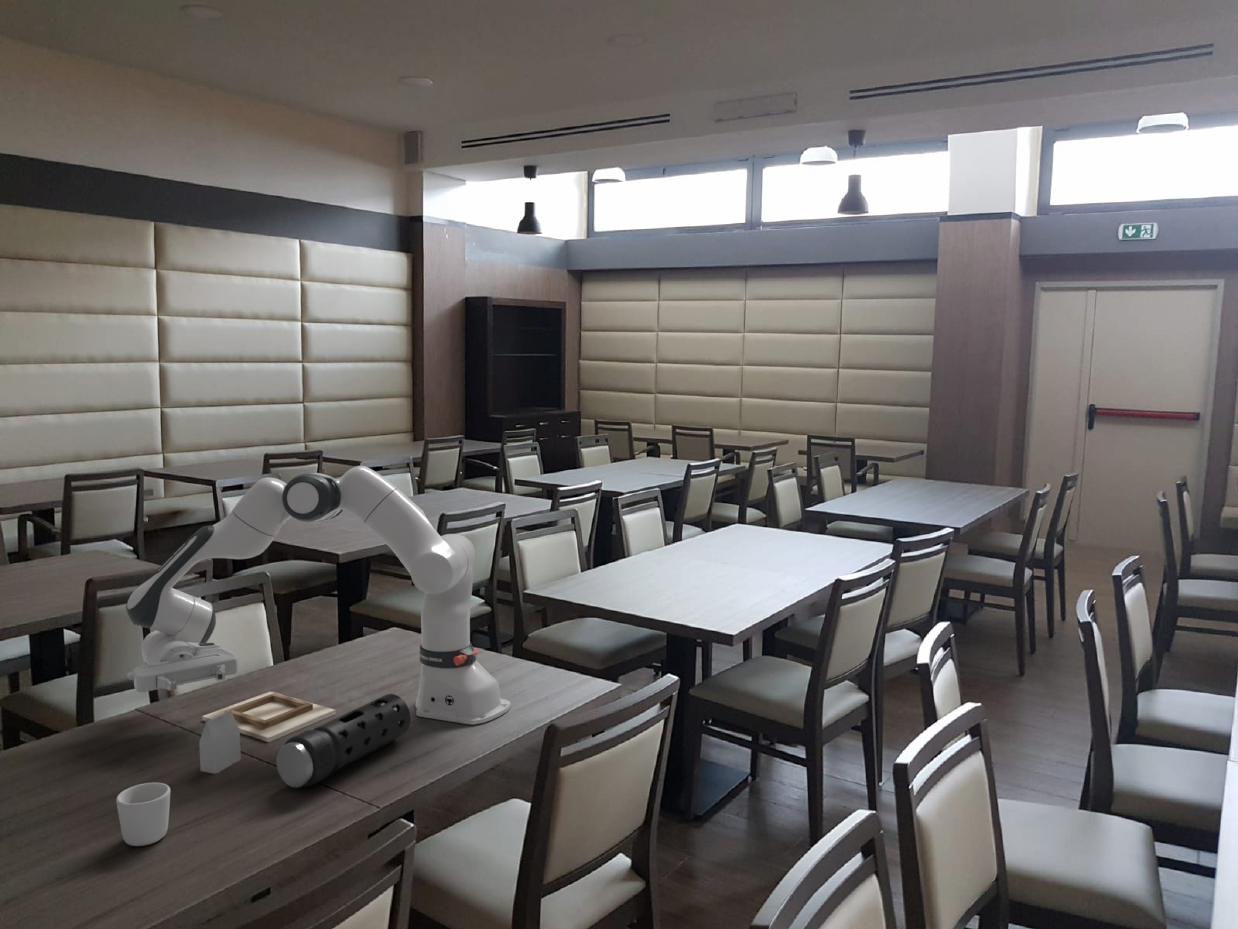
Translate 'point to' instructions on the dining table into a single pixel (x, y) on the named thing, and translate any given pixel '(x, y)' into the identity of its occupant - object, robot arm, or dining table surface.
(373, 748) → the muzzle brake
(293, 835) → the dining table surface
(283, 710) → the holder
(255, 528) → the robot arm
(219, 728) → the tea bag
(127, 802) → the cup
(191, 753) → the dining table surface
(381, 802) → the dining table surface
